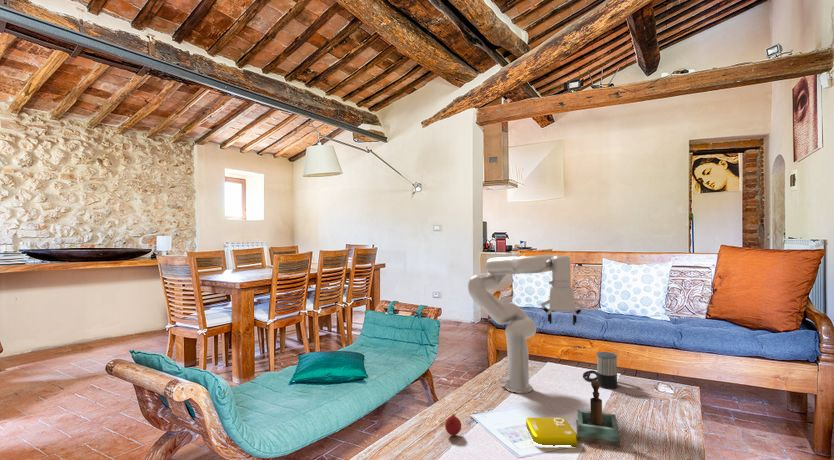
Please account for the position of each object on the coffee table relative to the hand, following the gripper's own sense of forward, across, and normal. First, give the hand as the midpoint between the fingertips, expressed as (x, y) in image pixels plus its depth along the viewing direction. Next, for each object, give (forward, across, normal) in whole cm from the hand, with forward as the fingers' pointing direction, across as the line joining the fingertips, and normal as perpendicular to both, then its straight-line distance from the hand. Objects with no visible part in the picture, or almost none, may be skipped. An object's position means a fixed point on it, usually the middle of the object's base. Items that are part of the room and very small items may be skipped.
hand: (562, 323), depth 182 cm
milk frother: (+34, +16, +27) cm, 46 cm away
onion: (+34, -37, -45) cm, 67 cm away
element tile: (+34, -4, -35) cm, 49 cm away
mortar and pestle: (+32, +12, -28) cm, 44 cm away
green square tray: (+33, +12, -28) cm, 45 cm away
